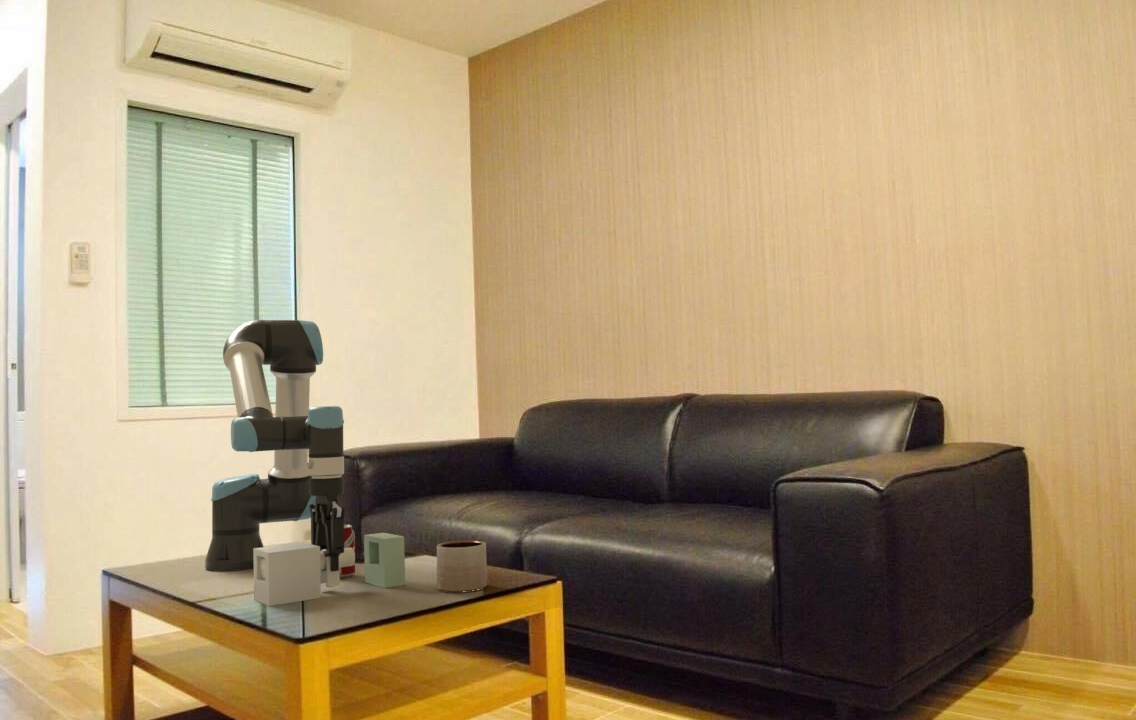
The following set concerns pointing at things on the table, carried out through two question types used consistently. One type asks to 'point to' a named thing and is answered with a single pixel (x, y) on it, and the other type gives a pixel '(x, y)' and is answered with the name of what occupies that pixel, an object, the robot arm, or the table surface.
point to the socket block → (384, 559)
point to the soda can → (348, 542)
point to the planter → (461, 566)
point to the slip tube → (344, 560)
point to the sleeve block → (287, 573)
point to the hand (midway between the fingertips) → (327, 584)
